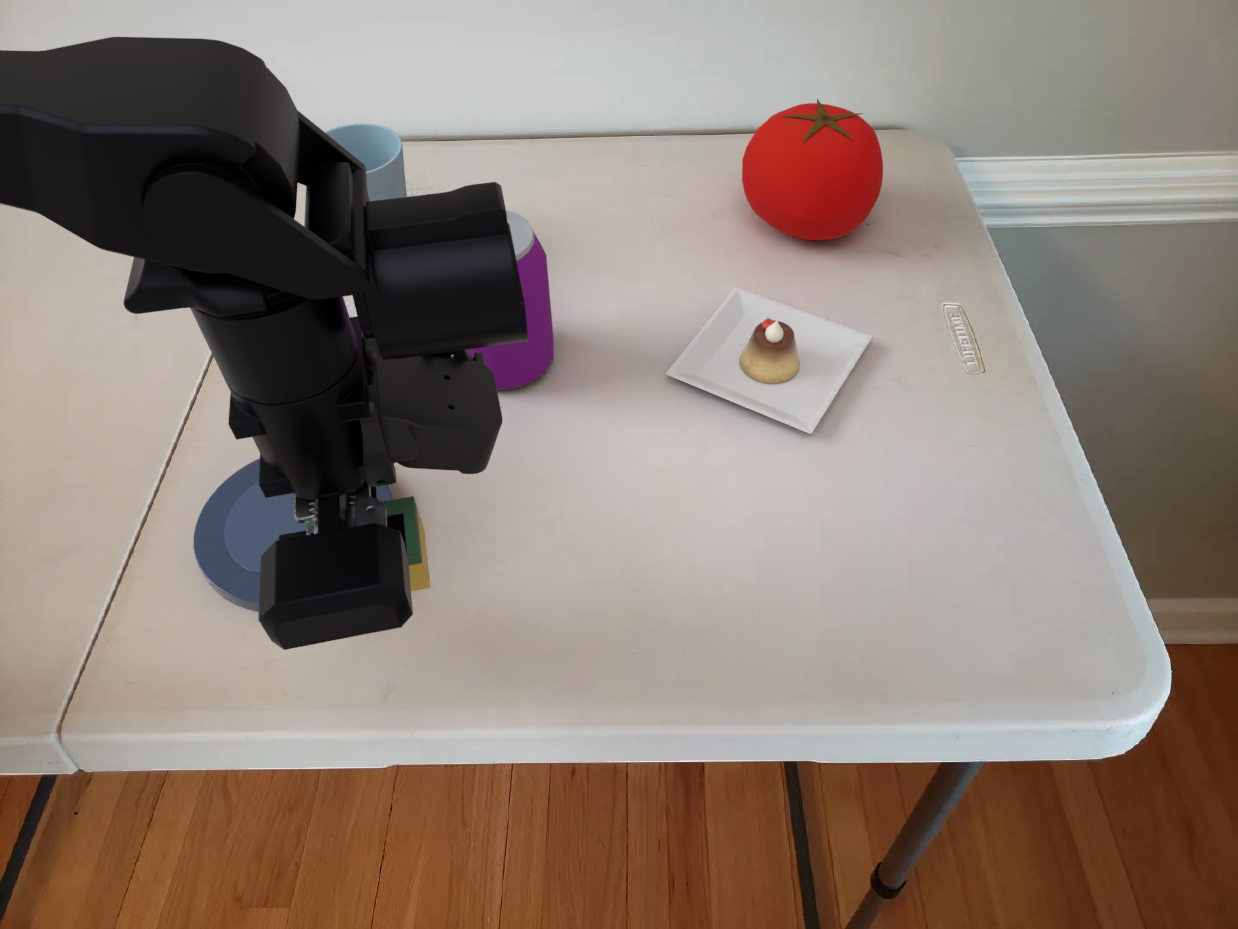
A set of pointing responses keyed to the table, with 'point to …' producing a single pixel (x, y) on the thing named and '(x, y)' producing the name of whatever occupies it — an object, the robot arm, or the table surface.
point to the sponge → (410, 540)
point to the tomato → (813, 171)
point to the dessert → (771, 358)
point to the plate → (244, 533)
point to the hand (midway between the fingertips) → (370, 559)
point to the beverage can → (536, 354)
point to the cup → (375, 157)
